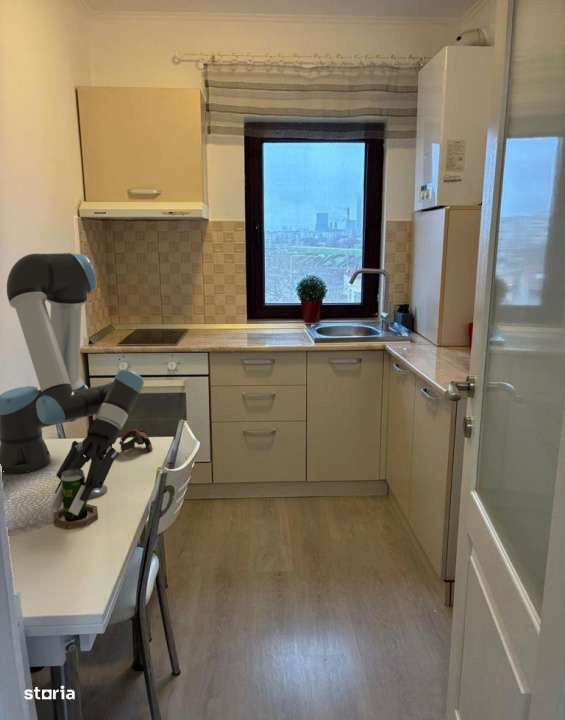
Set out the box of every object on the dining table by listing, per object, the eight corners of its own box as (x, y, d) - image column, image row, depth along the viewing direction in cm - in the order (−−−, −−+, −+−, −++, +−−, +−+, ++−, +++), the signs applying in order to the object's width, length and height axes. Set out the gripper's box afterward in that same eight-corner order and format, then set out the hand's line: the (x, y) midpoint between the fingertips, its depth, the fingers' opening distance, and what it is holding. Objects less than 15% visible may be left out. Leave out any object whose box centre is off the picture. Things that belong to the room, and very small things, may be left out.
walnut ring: (44, 523, 131) (44, 518, 131) (76, 506, 140) (75, 501, 140) (76, 532, 127) (75, 526, 127) (106, 514, 136) (106, 508, 136)
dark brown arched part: (153, 456, 176) (139, 438, 173) (128, 468, 177) (113, 450, 173) (156, 435, 187) (143, 417, 183) (132, 447, 188) (119, 429, 184)
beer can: (76, 512, 137) (72, 467, 135) (92, 516, 135) (89, 470, 133) (59, 521, 133) (55, 474, 130) (75, 526, 130) (72, 478, 128)
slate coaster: (64, 495, 147) (64, 493, 146) (89, 483, 155) (89, 481, 154) (90, 502, 143) (90, 499, 143) (114, 488, 151) (114, 486, 151)
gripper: (143, 436, 140) (102, 524, 129) (88, 427, 148) (44, 509, 136) (128, 422, 135) (83, 512, 123) (71, 413, 142) (25, 498, 131)
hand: (63, 510), depth 130 cm, fingers closed on beer can, 5 cm apart
